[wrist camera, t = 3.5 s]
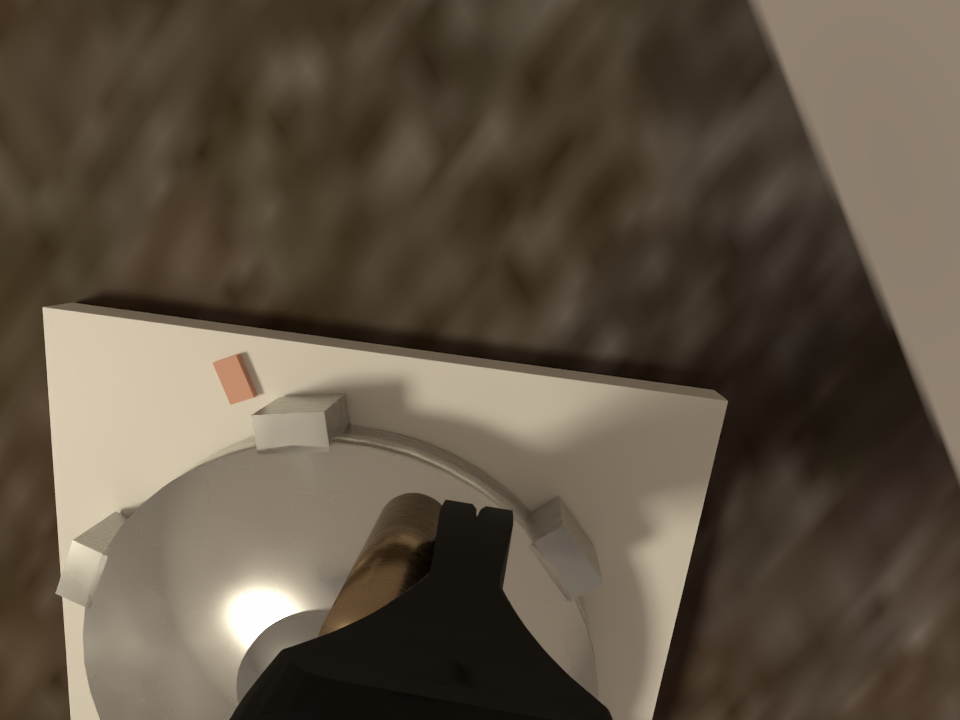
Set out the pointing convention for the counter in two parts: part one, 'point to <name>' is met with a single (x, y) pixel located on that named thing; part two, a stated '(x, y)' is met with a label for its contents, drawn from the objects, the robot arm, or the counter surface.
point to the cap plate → (405, 410)
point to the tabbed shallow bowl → (296, 560)
